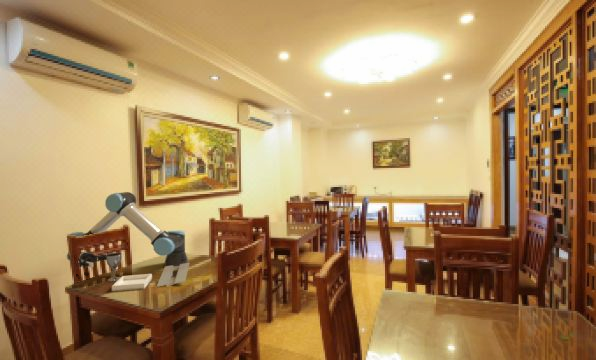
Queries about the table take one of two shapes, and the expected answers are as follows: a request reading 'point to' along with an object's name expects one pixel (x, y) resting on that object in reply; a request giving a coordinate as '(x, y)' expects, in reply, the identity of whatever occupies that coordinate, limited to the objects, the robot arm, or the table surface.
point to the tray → (132, 282)
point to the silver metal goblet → (114, 263)
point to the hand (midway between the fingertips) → (104, 262)
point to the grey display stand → (173, 274)
